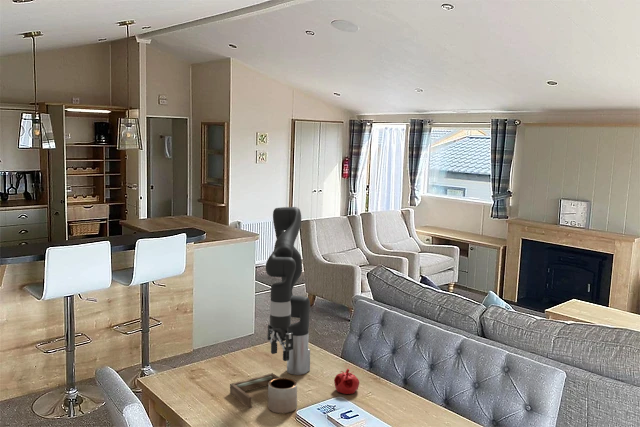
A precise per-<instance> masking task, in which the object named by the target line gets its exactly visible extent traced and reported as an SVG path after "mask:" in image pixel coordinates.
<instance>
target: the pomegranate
mask: <svg viewBox="0 0 640 427" xmlns="http://www.w3.org/2000/svg"><path fill="white" fill-rule="evenodd" d="M333 382H334V387H335V390H336V391H337V393H340V394H342V395H343V394H344V395H353V394H355V392H356V391H358V390H359V386H360V380H359V379H358V377H357V376H356V375H355V374H353V371H351V372H350V368H346V369H345V372H344V371H342V370H341V371H340V372H339V373H337V374H336V375H335V377H334V380H333Z"/></svg>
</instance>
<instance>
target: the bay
mask: <svg viewBox="0 0 640 427" xmlns="http://www.w3.org/2000/svg"><path fill="white" fill-rule="evenodd" d="M276 378H280V377H279V376H278V375H277V374H275V373H273V372H272V373H268V374H264V375H258V376H256V377H253V378H248V379H245V380H240V381H235V382H233V383H229V384H230V385H229V394H230V395H231V396H232V397H234V398H235V399H237V401H239V402H240V403H242V404H243V405H244V406H246V407H247V408H248V409H252V408H253V406H252V403H253V402H252V401H253V397H252V396H251V395H249V394H248V393H246V391H250V390H251V391H252V390H254V389H257V388H262V387H265V386H268V383H269V381H271V380H273V379H276Z"/></svg>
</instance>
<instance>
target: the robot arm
mask: <svg viewBox="0 0 640 427" xmlns="http://www.w3.org/2000/svg"><path fill="white" fill-rule="evenodd" d="M272 222H273V228H274V232H275V237H276V239H275V243H274V246H273V247H274V248H273V251H272V253H271V254H270V255H269V257H268V259H267V260H266V263H265V272H266V274H267V275H268V276H269V277H271V278H281V282H275V283H273V284H271V285H270V304H269V324H268V325H267V341H269V343H270V354H272V355H276V354H277V353H278V342H279V345H280V346H281V347H282V348H281V349H282V350H283V351H282V361H283V362H286V372H287V373H288V374H289V375H290V374H291V375H295V376H298V375H299V376H300V375H305V374H307V373H308V372H310V371H311V349H310V348H309V335H310V334H309V329H310V313H311V302H310V298H309V297H308V296H302V295H294V294H293V288H294V287H295V285H296V283H297V282H298V280H299V279H300V277H301V275H302V272H303V262H302V256H301V253H300V252H299V251H298V249H297V248H296V247H295V243H296V239H297V237H298V235H299V232H300V229H301V226H302V211H301V209H300V208H299V207H297V206H283V207H276V208H274V209H273V211H272ZM292 318H295V319H296V318H298V319H299V321H297V322H294V323H292Z"/></svg>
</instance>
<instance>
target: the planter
mask: <svg viewBox="0 0 640 427" xmlns="http://www.w3.org/2000/svg"><path fill="white" fill-rule="evenodd" d="M267 387H268V388H267V392H268V393H267V407H268V410H269V411H270V412H273V413H275V414H283V415H284V414H290V413H292V412H293V411H295V410H296V409H297V407H298V382H297V381H296V380H295V379H293V378H291V377H279V378H276V379H273V380H271V381H269V383H268V385H267Z"/></svg>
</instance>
